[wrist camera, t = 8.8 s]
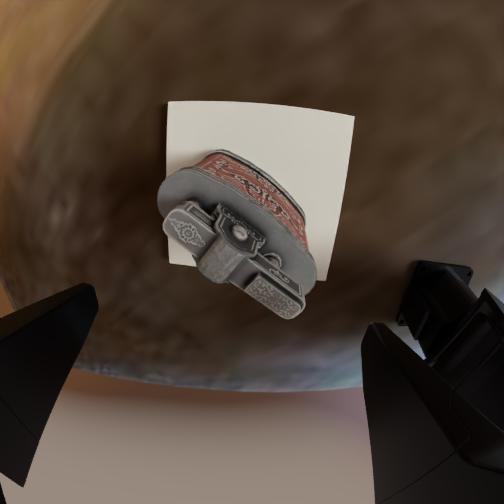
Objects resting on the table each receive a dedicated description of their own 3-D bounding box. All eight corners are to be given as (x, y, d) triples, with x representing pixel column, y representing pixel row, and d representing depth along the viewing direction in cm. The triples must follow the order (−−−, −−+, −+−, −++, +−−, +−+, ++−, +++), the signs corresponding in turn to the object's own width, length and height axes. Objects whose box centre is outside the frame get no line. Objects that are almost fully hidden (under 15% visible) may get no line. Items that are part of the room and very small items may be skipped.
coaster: (350, 116, 17) (354, 116, 16) (323, 274, 22) (325, 281, 21) (173, 102, 17) (168, 101, 16) (173, 257, 23) (169, 262, 22)
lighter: (191, 177, 19) (115, 236, 10) (221, 137, 17) (158, 159, 8) (283, 248, 20) (283, 352, 11) (316, 213, 19) (344, 303, 10)
